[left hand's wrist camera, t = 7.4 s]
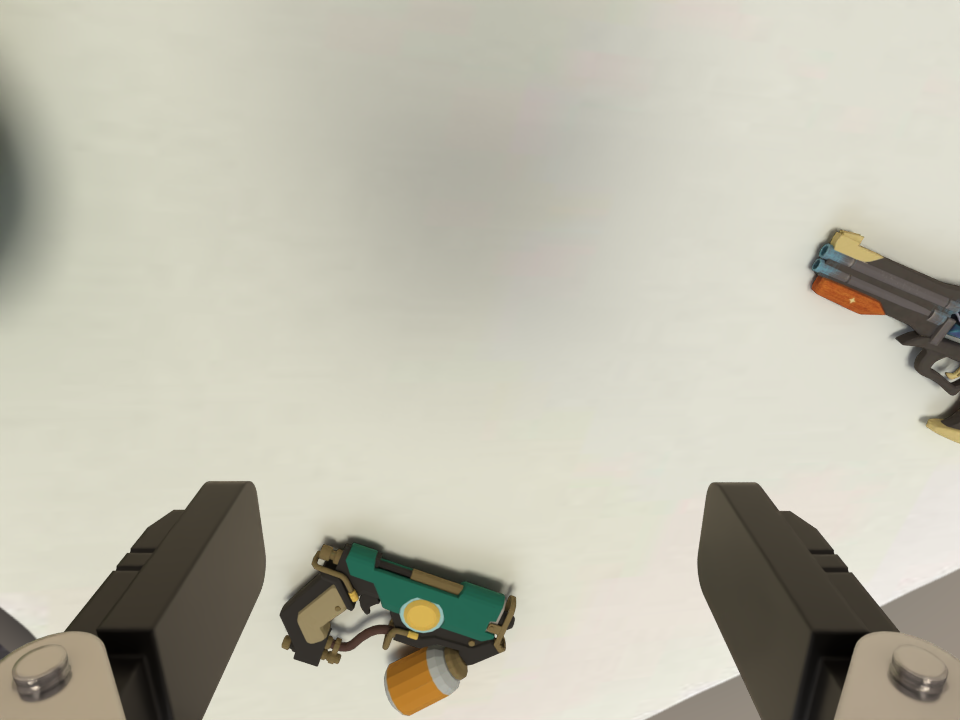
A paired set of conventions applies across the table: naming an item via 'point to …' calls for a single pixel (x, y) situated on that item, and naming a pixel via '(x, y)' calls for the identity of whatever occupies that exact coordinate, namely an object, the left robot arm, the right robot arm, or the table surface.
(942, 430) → the toy gun
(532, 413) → the table surface
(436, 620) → the spray gun
